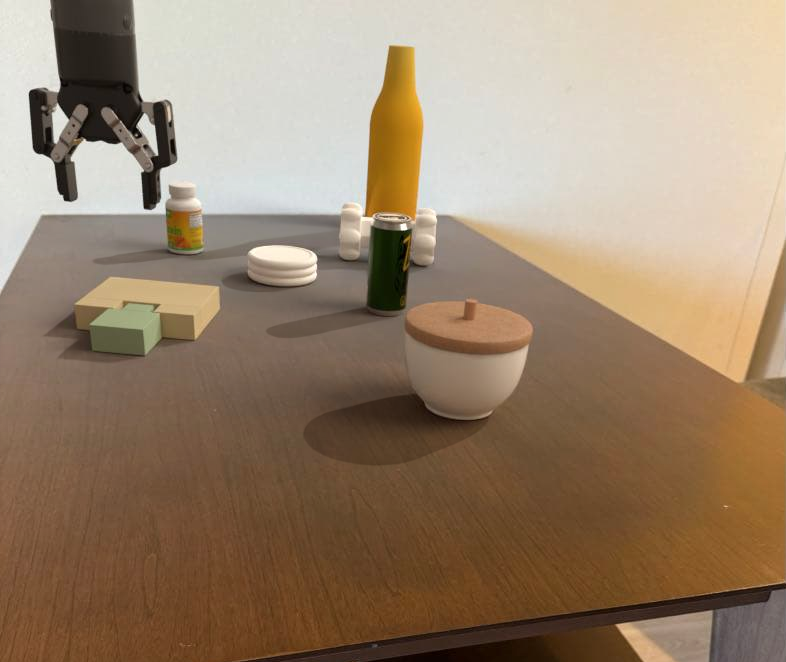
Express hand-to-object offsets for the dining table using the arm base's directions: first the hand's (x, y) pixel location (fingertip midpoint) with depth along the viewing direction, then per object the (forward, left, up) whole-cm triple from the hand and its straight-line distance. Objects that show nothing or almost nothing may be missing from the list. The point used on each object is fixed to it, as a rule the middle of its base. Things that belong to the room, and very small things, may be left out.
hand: (110, 204), depth 90 cm
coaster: (+13, +31, -15) cm, 37 cm away
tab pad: (+1, 0, -15) cm, 15 cm away
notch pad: (+1, +8, -15) cm, 17 cm away
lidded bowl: (+39, -10, -15) cm, 43 cm away
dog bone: (+27, +46, -15) cm, 55 cm away
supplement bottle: (-4, +41, -15) cm, 44 cm away
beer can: (+29, +20, -15) cm, 38 cm away
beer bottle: (+26, +67, -15) cm, 73 cm away
